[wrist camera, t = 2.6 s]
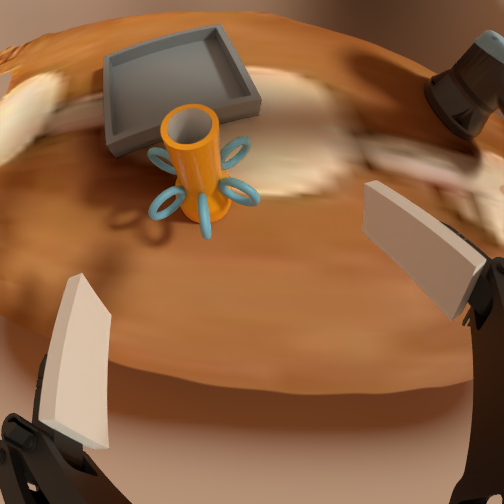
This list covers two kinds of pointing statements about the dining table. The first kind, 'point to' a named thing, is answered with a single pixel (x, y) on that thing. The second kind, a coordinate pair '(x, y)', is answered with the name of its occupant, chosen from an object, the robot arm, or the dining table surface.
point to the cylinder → (199, 167)
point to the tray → (172, 85)
